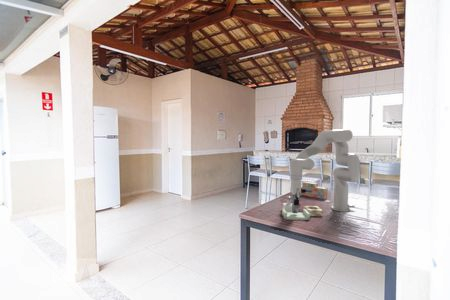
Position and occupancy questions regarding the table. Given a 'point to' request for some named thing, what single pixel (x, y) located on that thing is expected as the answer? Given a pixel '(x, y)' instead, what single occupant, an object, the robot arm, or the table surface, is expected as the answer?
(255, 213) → the table surface
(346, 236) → the table surface
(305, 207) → the socket
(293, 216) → the tray
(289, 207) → the housing
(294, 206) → the grey round peg
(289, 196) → the grey ball-topped peg
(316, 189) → the stack of blocks
